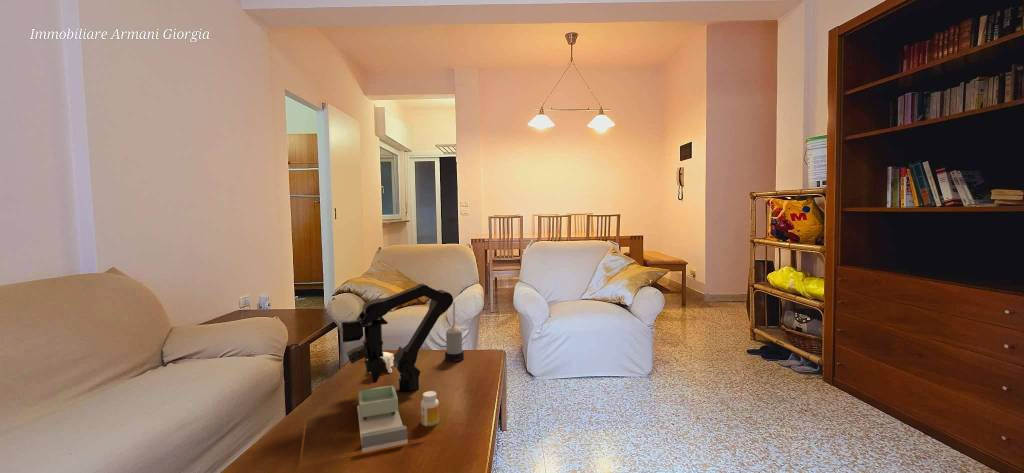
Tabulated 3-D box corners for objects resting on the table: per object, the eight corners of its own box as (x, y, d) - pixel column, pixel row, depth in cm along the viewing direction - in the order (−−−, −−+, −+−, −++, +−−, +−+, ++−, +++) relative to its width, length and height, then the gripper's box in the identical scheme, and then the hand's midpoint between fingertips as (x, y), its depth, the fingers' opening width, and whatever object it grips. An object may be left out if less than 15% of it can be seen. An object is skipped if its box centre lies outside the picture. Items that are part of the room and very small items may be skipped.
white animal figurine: (374, 374, 181) (365, 373, 167) (376, 352, 184) (367, 350, 170) (395, 373, 182) (388, 372, 168) (396, 352, 185) (389, 350, 170)
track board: (394, 402, 148) (394, 390, 147) (407, 443, 122) (407, 429, 121) (357, 408, 143) (356, 396, 143) (362, 452, 117) (361, 438, 117)
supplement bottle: (442, 422, 134) (441, 391, 133) (433, 430, 129) (433, 398, 128) (426, 419, 136) (426, 389, 135) (417, 427, 130) (417, 396, 130)
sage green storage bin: (393, 401, 145) (393, 385, 145) (398, 416, 135) (397, 398, 135) (358, 407, 141) (358, 390, 141) (360, 422, 131) (360, 404, 131)
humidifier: (456, 363, 184) (455, 305, 183) (441, 360, 188) (440, 303, 187) (467, 357, 191) (467, 301, 190) (452, 354, 195) (452, 299, 194)
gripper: (347, 333, 155) (348, 376, 156) (349, 349, 137) (350, 397, 138) (380, 329, 159) (381, 371, 160) (385, 344, 142) (387, 391, 143)
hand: (374, 382), depth 150 cm, fingers closed
